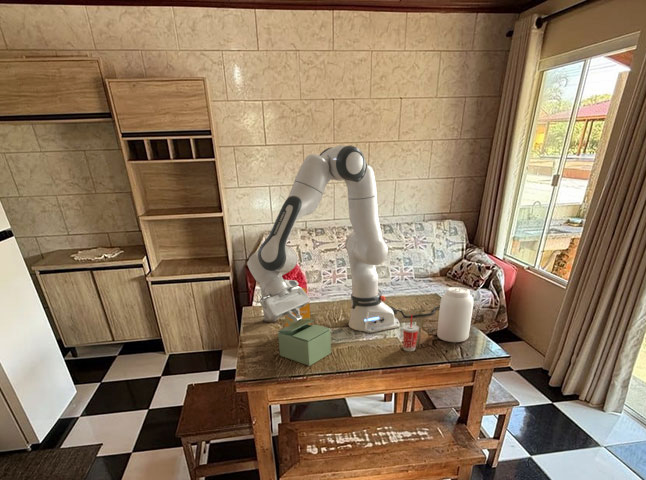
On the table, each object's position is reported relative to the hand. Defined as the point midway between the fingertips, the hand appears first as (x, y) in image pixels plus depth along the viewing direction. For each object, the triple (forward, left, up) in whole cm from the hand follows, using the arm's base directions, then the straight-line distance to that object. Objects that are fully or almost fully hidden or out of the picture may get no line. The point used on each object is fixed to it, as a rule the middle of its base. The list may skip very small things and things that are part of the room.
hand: (298, 320), depth 152 cm
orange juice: (-1, -17, -14) cm, 22 cm away
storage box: (-1, +2, -13) cm, 14 cm away
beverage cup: (-41, +8, -14) cm, 44 cm away
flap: (+1, -1, -2) cm, 3 cm away
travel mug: (+9, -38, -14) cm, 41 cm away
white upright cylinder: (-62, +2, -14) cm, 64 cm away
